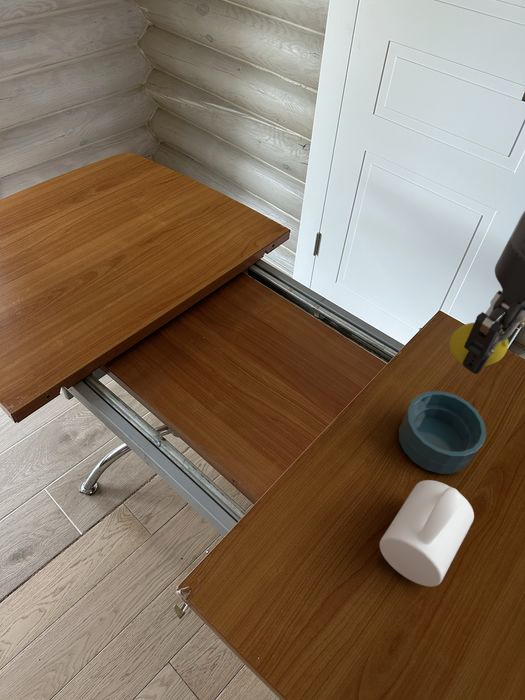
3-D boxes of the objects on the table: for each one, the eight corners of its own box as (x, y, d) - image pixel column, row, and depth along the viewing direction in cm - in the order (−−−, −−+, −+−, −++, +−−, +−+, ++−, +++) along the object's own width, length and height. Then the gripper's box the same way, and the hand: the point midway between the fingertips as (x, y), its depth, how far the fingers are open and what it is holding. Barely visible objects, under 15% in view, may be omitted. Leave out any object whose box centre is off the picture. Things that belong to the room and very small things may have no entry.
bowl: (484, 447, 81) (500, 426, 76) (442, 491, 75) (457, 470, 71) (425, 401, 86) (437, 379, 82) (382, 439, 80) (392, 417, 76)
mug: (372, 553, 68) (396, 514, 59) (407, 498, 74) (434, 454, 65) (428, 595, 65) (462, 561, 56) (461, 534, 71) (497, 494, 62)
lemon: (452, 376, 67) (509, 375, 60) (430, 346, 65) (486, 342, 59) (469, 346, 69) (526, 341, 63) (448, 316, 68) (505, 309, 61)
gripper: (551, 295, 46) (479, 405, 59) (615, 238, 53) (539, 348, 66) (479, 253, 50) (425, 366, 62) (548, 205, 57) (488, 315, 69)
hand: (484, 356), depth 64 cm, fingers closed on lemon, 5 cm apart
